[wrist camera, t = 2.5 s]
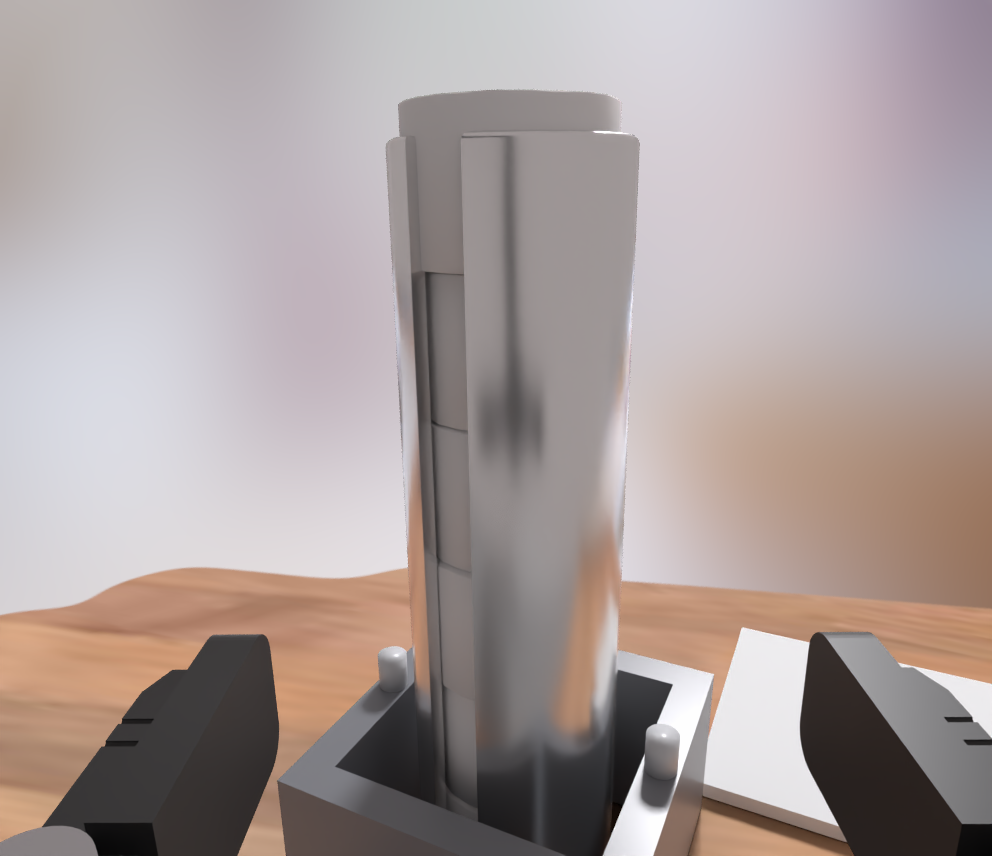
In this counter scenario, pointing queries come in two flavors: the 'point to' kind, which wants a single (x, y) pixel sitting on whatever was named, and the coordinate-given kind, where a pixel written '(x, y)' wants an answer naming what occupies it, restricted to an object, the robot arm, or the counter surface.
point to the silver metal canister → (515, 447)
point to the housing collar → (465, 842)
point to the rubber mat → (785, 732)
